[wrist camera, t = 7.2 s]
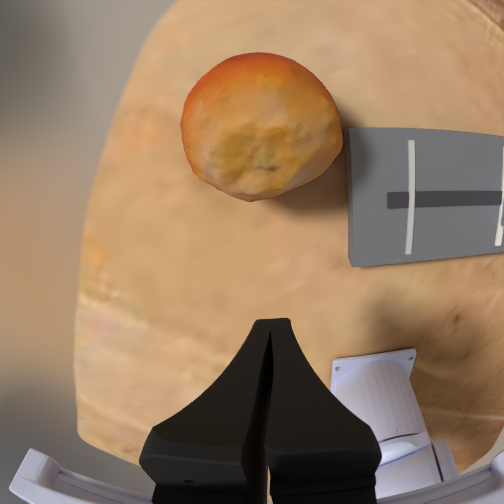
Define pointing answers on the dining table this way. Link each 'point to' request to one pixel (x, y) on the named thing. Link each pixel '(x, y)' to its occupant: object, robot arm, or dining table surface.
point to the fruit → (260, 126)
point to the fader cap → (503, 220)
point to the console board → (423, 194)
